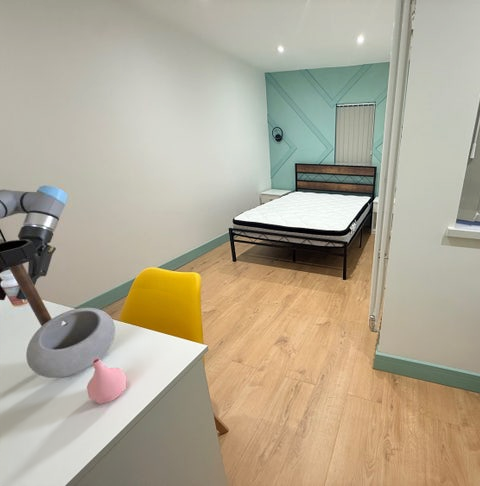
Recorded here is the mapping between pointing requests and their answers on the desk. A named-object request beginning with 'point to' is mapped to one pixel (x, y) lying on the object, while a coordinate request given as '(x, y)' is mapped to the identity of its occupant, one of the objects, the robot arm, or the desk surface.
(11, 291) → the pill bottle
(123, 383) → the pink vase
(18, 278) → the stand
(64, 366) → the planter
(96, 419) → the desk surface
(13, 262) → the holder
